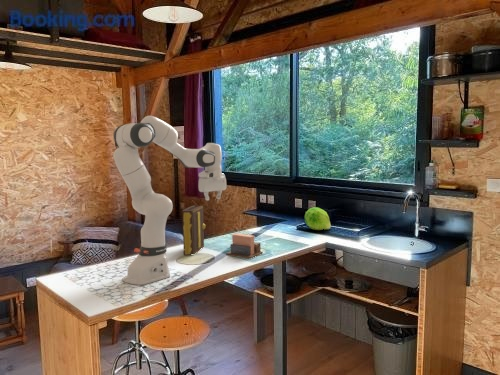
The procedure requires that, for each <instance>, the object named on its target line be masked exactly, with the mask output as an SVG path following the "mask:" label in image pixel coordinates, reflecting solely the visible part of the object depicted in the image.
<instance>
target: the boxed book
mask: <svg viewBox="0 0 500 375" xmlns="http://www.w3.org/2000/svg"><path fill="white" fill-rule="evenodd" d="M231 236H232V239H231V240H232V244H236V245H243V246H250V255H252V254H254V242H255V235H250V234H243V233H233V234H232V235H231Z"/></svg>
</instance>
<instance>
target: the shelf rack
mask: <svg viewBox="0 0 500 375" xmlns="http://www.w3.org/2000/svg"><path fill="white" fill-rule="evenodd" d="M261 250H262V249H261V242H257V241H254V254H252V255H250V256H246V255H240V254H233V253H231V251H228V252H226V256H232V257H238V258H243V257H244V259H249V258H252V259H254V258H256V257H259V256H261V255H262V253H264V252H263V251H261ZM260 254H261V255H260ZM255 256H256V257H255ZM253 257H254V258H253Z"/></svg>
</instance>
